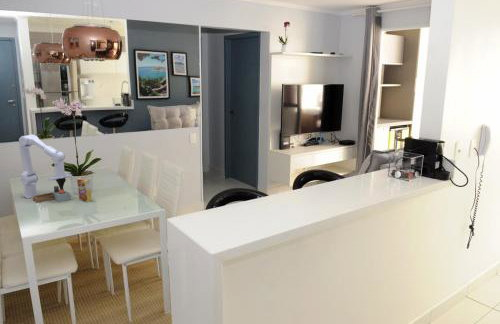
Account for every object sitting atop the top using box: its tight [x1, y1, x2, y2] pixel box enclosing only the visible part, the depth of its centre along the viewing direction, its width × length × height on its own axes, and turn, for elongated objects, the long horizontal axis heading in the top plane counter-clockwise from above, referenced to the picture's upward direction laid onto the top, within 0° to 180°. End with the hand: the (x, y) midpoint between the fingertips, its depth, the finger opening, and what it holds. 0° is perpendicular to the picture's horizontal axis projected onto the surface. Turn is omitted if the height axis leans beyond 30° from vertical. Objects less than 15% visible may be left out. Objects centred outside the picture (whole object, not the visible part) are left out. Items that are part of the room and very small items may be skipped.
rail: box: [32, 192, 55, 204], centre depth 273 cm, size 8×19×3 cm, turn 135°
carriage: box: [50, 185, 60, 195], centre depth 275 cm, size 5×6×6 cm
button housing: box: [54, 190, 71, 203], centre depth 270 cm, size 6×8×5 cm
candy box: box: [76, 177, 93, 203], centre depth 269 cm, size 9×4×15 cm, turn 61°
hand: (61, 189), depth 269 cm, fingers closed
